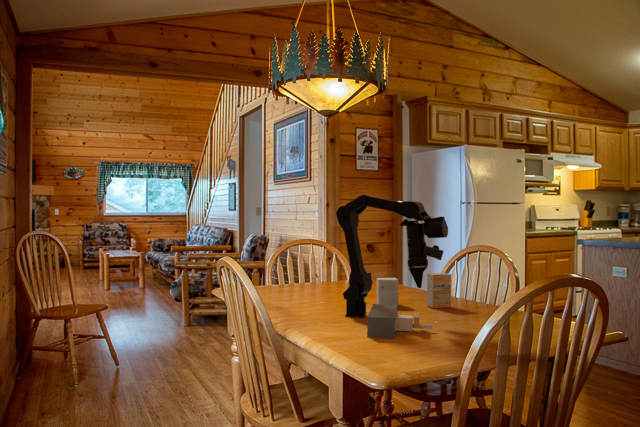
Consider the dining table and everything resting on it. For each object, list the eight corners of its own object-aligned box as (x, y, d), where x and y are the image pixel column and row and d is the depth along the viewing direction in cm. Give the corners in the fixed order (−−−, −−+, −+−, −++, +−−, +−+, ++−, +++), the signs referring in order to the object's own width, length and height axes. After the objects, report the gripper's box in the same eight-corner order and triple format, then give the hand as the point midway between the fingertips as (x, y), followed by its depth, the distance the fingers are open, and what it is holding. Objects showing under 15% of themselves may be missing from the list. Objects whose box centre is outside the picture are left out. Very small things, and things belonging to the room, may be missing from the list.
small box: (395, 303, 193) (396, 277, 193) (398, 306, 188) (398, 279, 188) (376, 303, 193) (376, 277, 193) (378, 306, 188) (378, 279, 187)
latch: (413, 325, 145) (413, 317, 145) (413, 319, 153) (413, 311, 153) (419, 326, 145) (419, 317, 145) (418, 320, 153) (418, 312, 153)
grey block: (367, 337, 142) (367, 316, 142) (373, 321, 162) (373, 303, 162) (395, 338, 140) (395, 318, 140) (397, 322, 160) (397, 304, 160)
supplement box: (432, 308, 183) (432, 274, 183) (426, 306, 188) (426, 273, 188) (451, 307, 185) (451, 274, 185) (445, 305, 190) (445, 272, 190)
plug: (396, 330, 148) (396, 317, 148) (396, 327, 152) (396, 314, 152) (432, 332, 146) (432, 319, 146) (432, 329, 150) (432, 316, 150)
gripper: (442, 238, 148) (446, 288, 147) (439, 236, 166) (442, 281, 166) (406, 240, 150) (409, 290, 149) (406, 238, 168) (410, 283, 168)
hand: (419, 286), depth 158 cm, fingers open, 9 cm apart
